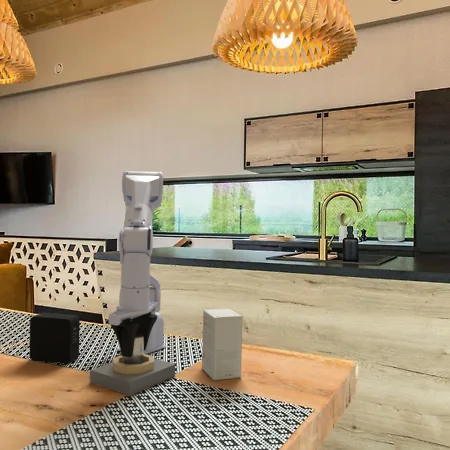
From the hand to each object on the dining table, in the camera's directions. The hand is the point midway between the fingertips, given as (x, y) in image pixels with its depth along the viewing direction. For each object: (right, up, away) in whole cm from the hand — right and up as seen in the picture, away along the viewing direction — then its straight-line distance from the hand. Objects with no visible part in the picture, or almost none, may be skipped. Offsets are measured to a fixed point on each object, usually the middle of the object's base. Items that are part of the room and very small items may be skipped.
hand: (134, 352), depth 94 cm
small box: (+18, -6, +5) cm, 19 cm away
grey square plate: (0, -5, 0) cm, 5 cm away
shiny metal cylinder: (0, -2, 0) cm, 2 cm away
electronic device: (-20, -5, +11) cm, 24 cm away
